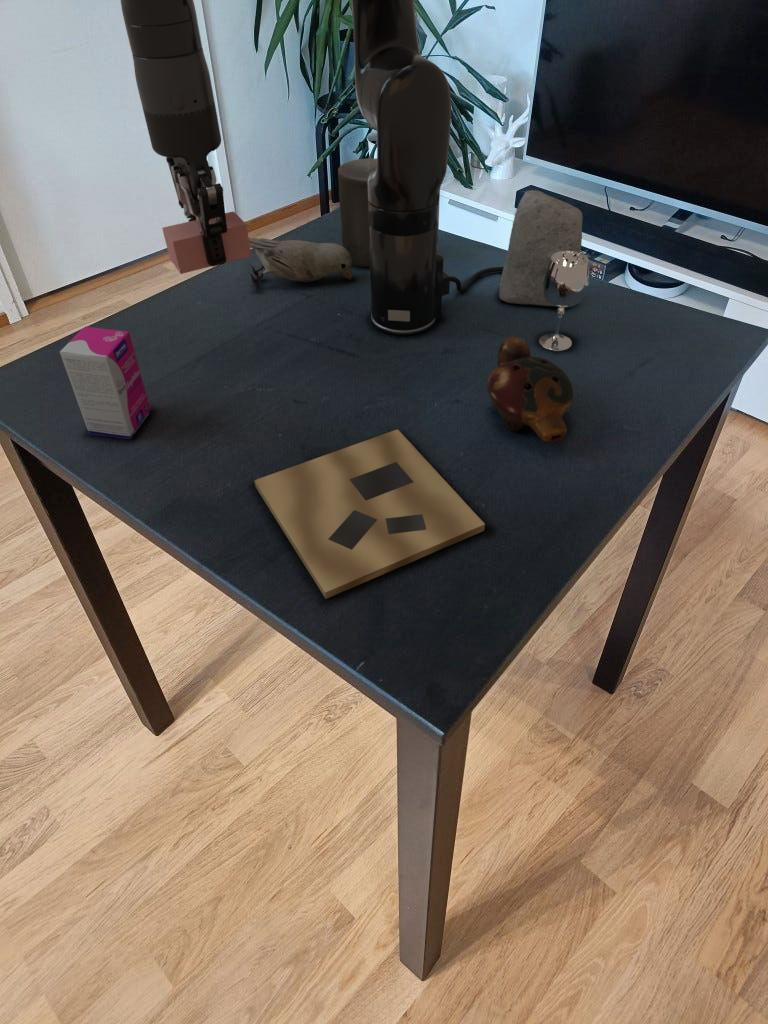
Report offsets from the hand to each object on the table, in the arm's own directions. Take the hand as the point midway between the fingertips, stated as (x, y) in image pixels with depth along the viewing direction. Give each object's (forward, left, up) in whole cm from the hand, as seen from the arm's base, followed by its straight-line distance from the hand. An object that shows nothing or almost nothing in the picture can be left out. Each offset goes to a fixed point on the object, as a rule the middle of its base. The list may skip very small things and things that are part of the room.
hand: (210, 255), depth 87 cm
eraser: (0, 0, 0) cm, 0 cm away
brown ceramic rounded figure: (-26, +31, -15) cm, 43 cm away
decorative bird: (-17, -15, -15) cm, 27 cm away
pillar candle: (-31, -18, -15) cm, 39 cm away
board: (-2, +35, -14) cm, 38 cm away
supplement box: (+17, +7, -15) cm, 23 cm away
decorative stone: (-45, +8, -15) cm, 48 cm away
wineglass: (-40, +19, -15) cm, 47 cm away
